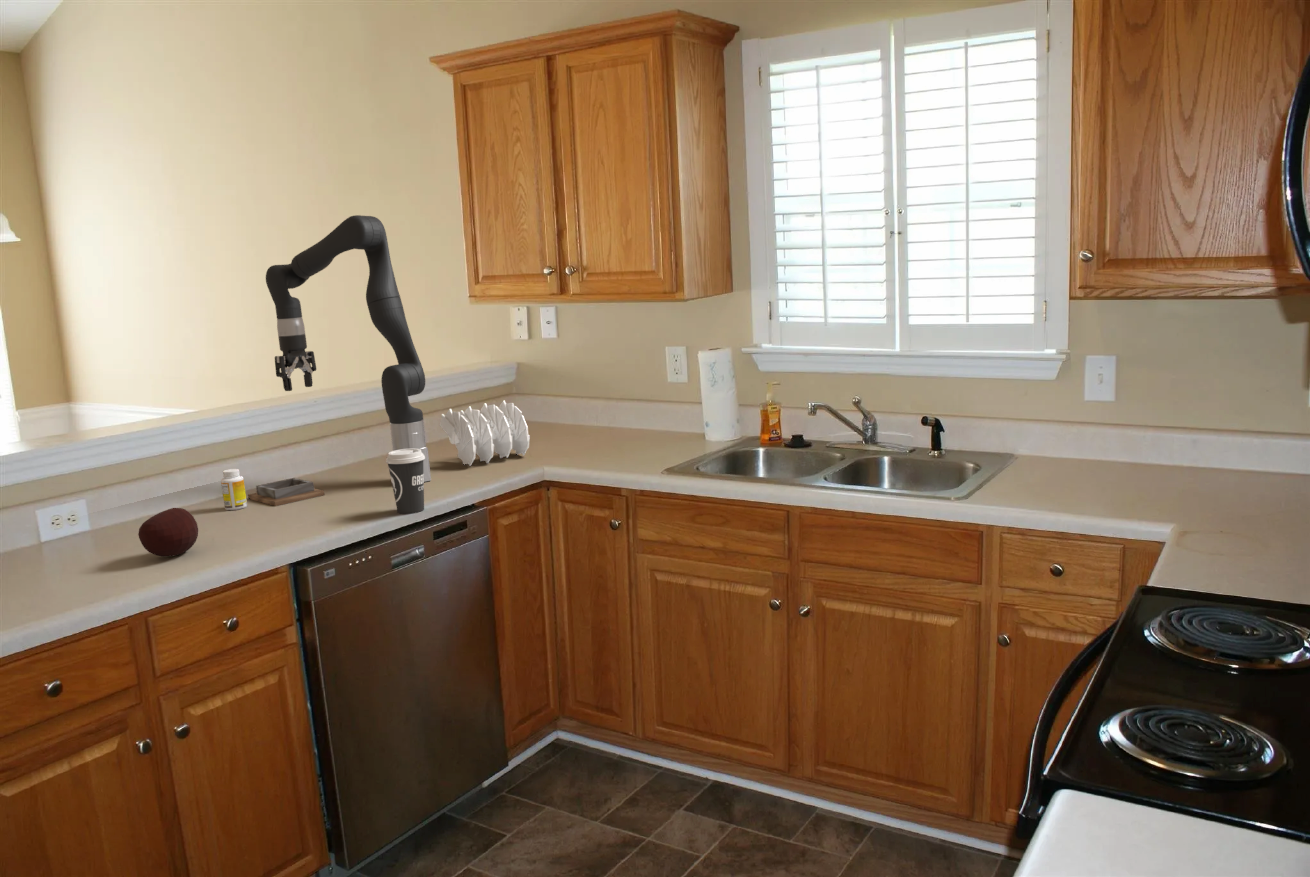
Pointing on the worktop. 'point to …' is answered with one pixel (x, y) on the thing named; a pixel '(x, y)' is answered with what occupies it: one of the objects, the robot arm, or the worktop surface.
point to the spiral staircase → (486, 431)
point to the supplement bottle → (233, 490)
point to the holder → (285, 492)
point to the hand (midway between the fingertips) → (298, 388)
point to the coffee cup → (407, 479)
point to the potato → (169, 532)
